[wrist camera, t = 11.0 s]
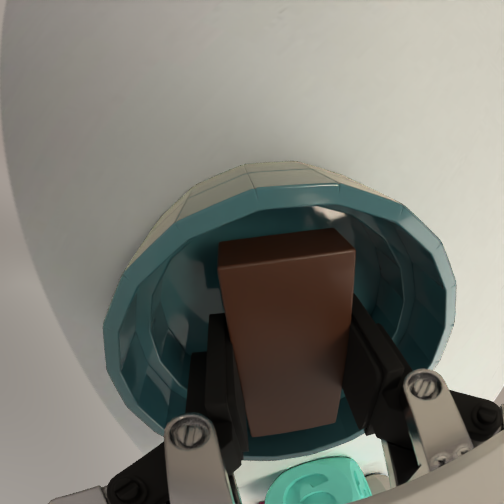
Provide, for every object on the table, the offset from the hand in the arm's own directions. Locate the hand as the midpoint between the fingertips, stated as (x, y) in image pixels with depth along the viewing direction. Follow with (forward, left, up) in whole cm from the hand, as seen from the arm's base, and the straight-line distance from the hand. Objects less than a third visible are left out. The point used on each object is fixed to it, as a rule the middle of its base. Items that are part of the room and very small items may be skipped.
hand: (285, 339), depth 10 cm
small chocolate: (0, 0, 0) cm, 0 cm away
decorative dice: (+20, -10, -3) cm, 22 cm away
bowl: (0, 0, -3) cm, 3 cm away
